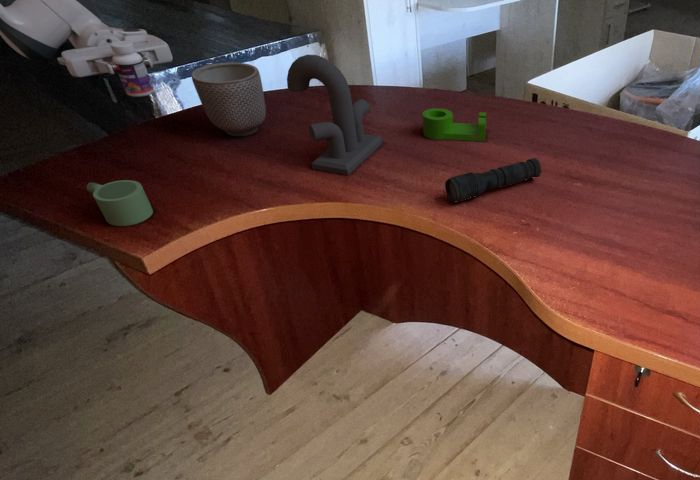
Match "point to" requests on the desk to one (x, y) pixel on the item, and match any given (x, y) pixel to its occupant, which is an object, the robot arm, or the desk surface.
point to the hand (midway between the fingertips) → (131, 66)
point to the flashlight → (490, 180)
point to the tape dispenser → (451, 126)
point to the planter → (231, 96)
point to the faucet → (335, 116)
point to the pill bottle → (131, 69)
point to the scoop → (122, 202)
